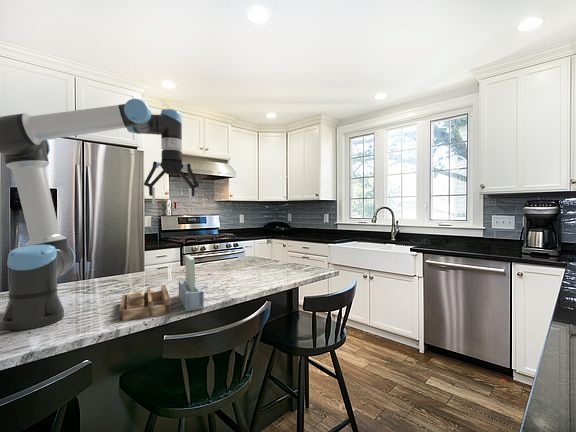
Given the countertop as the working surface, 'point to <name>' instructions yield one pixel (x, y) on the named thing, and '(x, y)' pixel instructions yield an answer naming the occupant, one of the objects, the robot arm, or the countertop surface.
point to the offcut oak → (134, 306)
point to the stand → (191, 297)
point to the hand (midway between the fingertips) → (172, 204)
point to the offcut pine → (138, 292)
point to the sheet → (190, 273)
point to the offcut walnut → (135, 299)
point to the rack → (150, 309)
